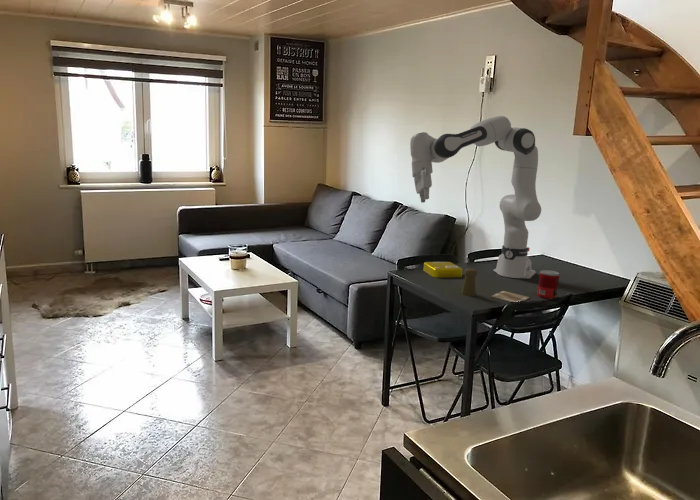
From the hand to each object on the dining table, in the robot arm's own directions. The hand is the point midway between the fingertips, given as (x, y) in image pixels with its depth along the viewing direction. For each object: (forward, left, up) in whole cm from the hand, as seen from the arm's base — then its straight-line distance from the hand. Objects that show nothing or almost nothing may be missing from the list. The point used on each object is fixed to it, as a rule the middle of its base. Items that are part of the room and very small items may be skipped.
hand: (425, 200), depth 253 cm
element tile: (-24, -1, -38) cm, 45 cm away
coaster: (-11, +39, -37) cm, 55 cm away
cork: (-2, +24, -37) cm, 45 cm away
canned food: (-26, +49, -37) cm, 67 cm away
